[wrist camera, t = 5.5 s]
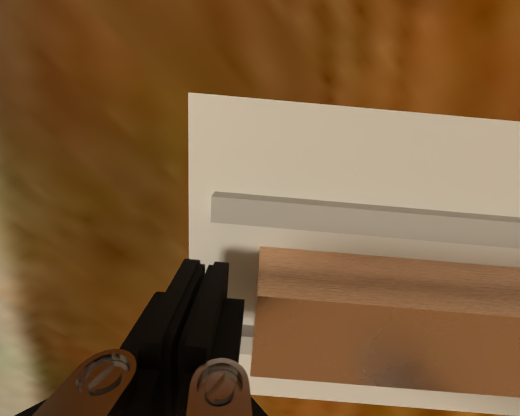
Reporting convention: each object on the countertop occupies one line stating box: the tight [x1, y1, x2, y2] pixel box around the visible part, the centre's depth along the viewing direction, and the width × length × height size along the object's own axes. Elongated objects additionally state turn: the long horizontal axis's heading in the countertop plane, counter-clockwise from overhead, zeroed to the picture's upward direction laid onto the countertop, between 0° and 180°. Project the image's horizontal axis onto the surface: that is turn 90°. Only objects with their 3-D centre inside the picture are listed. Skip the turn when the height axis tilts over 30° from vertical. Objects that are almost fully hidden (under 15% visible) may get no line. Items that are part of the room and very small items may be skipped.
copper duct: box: [250, 246, 520, 398], centre depth 10 cm, size 18×3×3 cm, turn 85°
